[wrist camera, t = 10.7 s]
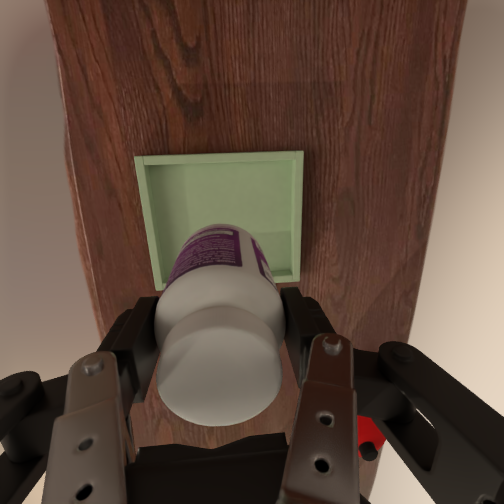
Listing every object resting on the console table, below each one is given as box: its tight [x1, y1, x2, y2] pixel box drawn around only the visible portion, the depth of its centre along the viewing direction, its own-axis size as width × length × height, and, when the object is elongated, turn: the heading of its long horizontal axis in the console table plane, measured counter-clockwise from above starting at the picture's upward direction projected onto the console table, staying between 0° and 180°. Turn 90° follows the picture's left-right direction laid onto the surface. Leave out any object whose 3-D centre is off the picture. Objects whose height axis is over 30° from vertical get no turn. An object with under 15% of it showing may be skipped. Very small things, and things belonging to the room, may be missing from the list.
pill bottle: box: [154, 224, 286, 426], centre depth 13 cm, size 5×5×10 cm
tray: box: [134, 150, 304, 290], centre depth 29 cm, size 16×14×2 cm
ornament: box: [357, 415, 386, 461], centre depth 35 cm, size 9×9×10 cm
